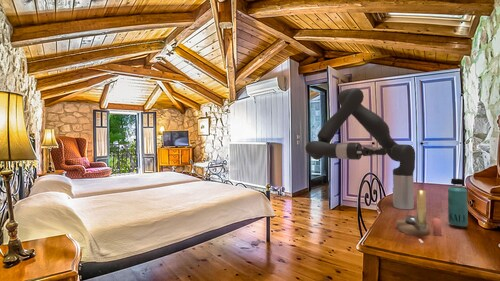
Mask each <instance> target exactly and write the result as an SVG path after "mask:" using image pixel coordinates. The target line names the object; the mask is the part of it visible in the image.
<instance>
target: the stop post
mask: <svg viewBox="0 0 500 281" xmlns="http://www.w3.org/2000/svg"><path fill="white" fill-rule="evenodd" d="M433 235H434V236H436V237H441V236H442V219H441V218H438V217H434V218H433Z"/></svg>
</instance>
